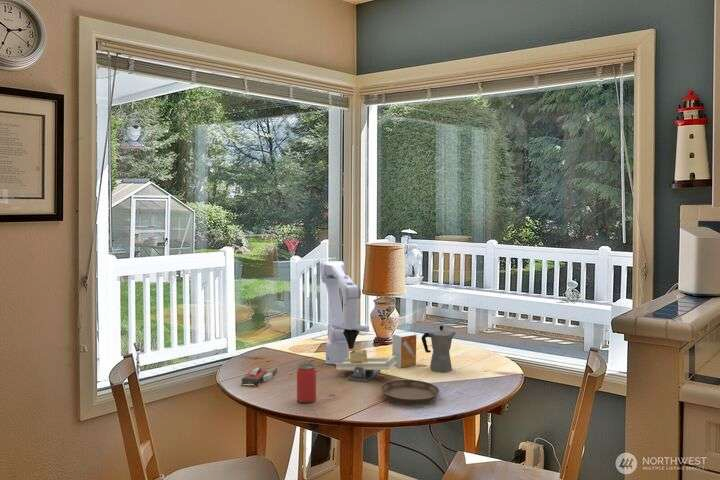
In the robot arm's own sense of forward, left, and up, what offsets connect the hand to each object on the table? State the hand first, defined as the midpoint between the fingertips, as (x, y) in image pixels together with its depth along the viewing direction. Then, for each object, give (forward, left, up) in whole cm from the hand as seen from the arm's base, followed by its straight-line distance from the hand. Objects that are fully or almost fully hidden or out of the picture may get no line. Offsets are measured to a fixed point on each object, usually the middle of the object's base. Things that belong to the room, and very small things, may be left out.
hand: (351, 348), depth 241 cm
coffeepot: (+32, +16, -10) cm, 37 cm away
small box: (+17, +17, -10) cm, 26 cm away
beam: (+7, -3, -6) cm, 10 cm away
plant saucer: (+31, -20, -10) cm, 38 cm away
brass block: (+5, -3, -5) cm, 8 cm away
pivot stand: (+7, -3, -9) cm, 12 cm away
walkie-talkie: (-29, -22, -10) cm, 38 cm away
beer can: (-1, -37, -10) cm, 38 cm away
